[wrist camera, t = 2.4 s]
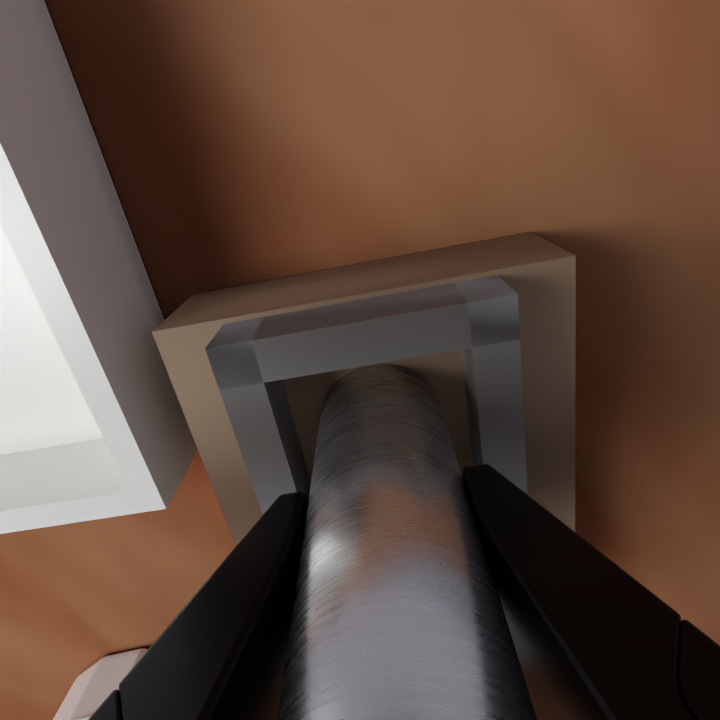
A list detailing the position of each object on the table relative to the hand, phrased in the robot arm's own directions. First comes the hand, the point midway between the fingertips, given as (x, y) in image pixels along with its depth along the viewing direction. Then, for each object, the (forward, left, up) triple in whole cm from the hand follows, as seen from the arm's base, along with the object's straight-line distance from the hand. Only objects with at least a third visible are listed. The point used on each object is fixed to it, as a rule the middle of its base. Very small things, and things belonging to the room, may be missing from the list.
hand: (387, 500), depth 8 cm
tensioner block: (0, +2, -5) cm, 6 cm away
